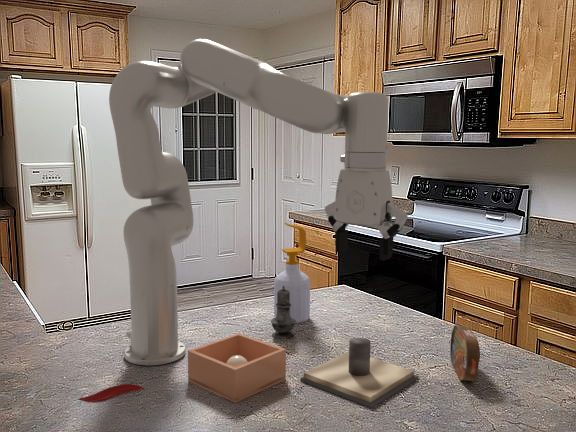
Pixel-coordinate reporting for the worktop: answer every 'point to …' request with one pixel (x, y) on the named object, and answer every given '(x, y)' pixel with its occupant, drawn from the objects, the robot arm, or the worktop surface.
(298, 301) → the soap bottle
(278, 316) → the salt shaker
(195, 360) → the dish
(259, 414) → the worktop surface
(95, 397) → the cayenne pepper
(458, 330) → the tin
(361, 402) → the mat
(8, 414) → the worktop surface
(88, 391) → the worktop surface
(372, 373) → the lid
